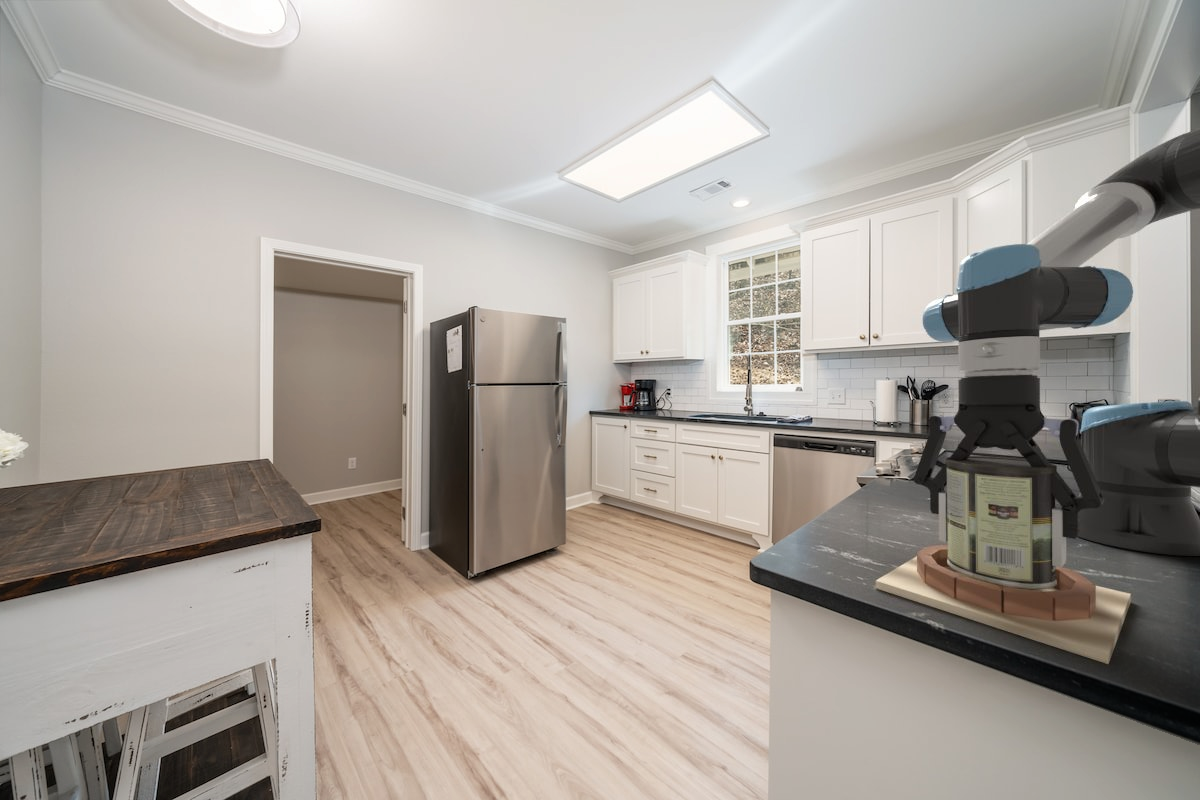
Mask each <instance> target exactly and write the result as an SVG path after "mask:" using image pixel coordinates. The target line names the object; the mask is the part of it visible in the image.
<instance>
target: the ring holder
mask: <svg viewBox="0 0 1200 800" xmlns="http://www.w3.org/2000/svg"><path fill="white" fill-rule="evenodd" d="M947 559H948V544H941V545H940V544H939V545H928V546H926V547H924V548H922V549H921V550H919V551H917V552H916V556H915V557H913V558H912V559H910V560H908V561H906V562H905V563H903V564H902V565H899V566H898V567H896V568H894V569H893V570H891V571H889V572H888V573H886V574H884V575H883V576H881V577H879V578H878V579H876V580H875V589H877V590H880V591H883V592H885V593H886V592H887V593H890V594H892V595H895V596H899V597H901V598H905V599H907V600H910V601H914V602H916V603H920V604H922V605H925V606H928V607H932V608H935V609H937V610H938V609H939V610H940V611H945V612H947V613H950V614H954V615H957V616H960V617H963V618H965V619H969V620H972V621H975V622H978V623H980V624H983V625H987V626H989V627H993V628H996V629H999V630H1002V631H1005V632H1008V633H1010V634H1015V635H1018V636H1021V637H1024V638H1026V639H1028V640H1029V639H1030V640H1033V641H1036V642H1038V643H1042V644H1045V645H1048V646H1051V647H1054V648H1058V649H1060V650H1064V651H1065V652H1069V653H1072V654H1075V655H1079V656H1080V657H1081V656H1082V657H1084V658H1088V659H1091V660H1094V661H1097V662H1101V663H1103V664H1106V665H1109V664H1110V661H1111V659H1112V655H1113V653H1114V649H1115V647H1116V645H1117V641H1118V639H1119V636H1120V633H1121V631H1122V628H1123V624H1124V622H1125V620H1126V616H1127V614H1128V611H1129V608H1130V605H1131V602H1132V600H1131V599H1132V596H1131V595H1132V593H1129V592H1125V591H1120V590H1115V589H1111V588H1108V587H1103V586H1099V585H1096V584H1095V583H1093V582H1092V581H1091V580H1089V579H1087V578H1086V577H1084V576H1082V575H1081V574H1080V573H1078V572H1077V571H1075V570H1072V569H1069V568H1067V567H1064V566H1063V567H1057V566H1056V580H1057V585H1056V586H1055V587H1053V588H1050V589H1034V590H1032V589H1019V588H1012V587H1006V586H1000V585H996V584H991V583H987V582H983V581H980V580H977V579H974V578H971V577H968V576H966V575H963V574H961V573H959V572H957V571H955V570H954V569H952V568H951V567H950V566H949V565H948V564H947Z"/></svg>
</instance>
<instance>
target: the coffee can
mask: <svg viewBox="0 0 1200 800" xmlns="http://www.w3.org/2000/svg"><path fill="white" fill-rule="evenodd" d="M950 457H951V456H948V457H946V458H945V459H944V461H945V462H944V464H945V463H946V465H947V485H946V486H947V487H946V490H947V533H948V541H947V545H948V559H947V564H948V565H949V566H950V567H951V568H952V569H954V570H955V571H957V572H959V573H961V574H963V575H966V576H968V577H971V578H974V579H977V580H980V581H983V582H987V583H991V584H996V585H1000V586H1006V587H1012V588H1019V589H1032V590H1034V589H1050V588H1053V587H1055V586H1056V585H1057V580H1056V566H1052V509H1053V508H1054V507H1055V506H1056V498H1055V497H1054V496H1053V495H1052V493H1051V490H1050V487H1051V485H1050V475H1051V474H1052V473H1056V471H1057V472H1058V470H1057V468H1058V467H1057V465H1056V464H1054V463H1051V466H1049V467H1031V465H1030V464H1029V463H1028V461H1027V460H1026V459H1025V458H1018V457H1007V456H991V455H987V456H986V455H970V456H969V457H968V459H965V460H962V461H957V460H953V459H949V458H950Z"/></svg>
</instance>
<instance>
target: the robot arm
mask: <svg viewBox="0 0 1200 800" xmlns="http://www.w3.org/2000/svg"><path fill="white" fill-rule="evenodd" d="M1198 209H1200V127H1198V128H1196V129H1193V130H1191V131H1189V132H1185V133H1183V134H1180V135H1178V136H1175V137H1173V138H1171V139H1169V140H1167V141H1164V142H1163V143H1161V144H1159V145H1157V146H1155V147H1153V148H1152V149H1150V150H1148V151H1146V152H1145V153H1143V154H1140V155H1139V156H1138V157H1136V158H1135V159H1134V160H1131V162H1129V163H1127V164H1126V165H1124V166H1123V167H1121V168H1120V169H1118V170H1117V171H1115V172H1114V173H1112V174H1111V175H1109V176H1108V177H1107V178H1105V179H1104V180H1102V181H1101V182H1100V183H1098V184H1097V185H1095V186H1094V187H1092V188H1091V189H1090V190H1088V191H1087V192H1086V193H1084V195H1082V196H1081V197H1080V198H1079V200H1078V201H1077V203H1075V207H1074V208H1073V210H1072V211H1070V212H1068V213H1067V214H1066V215H1065V216H1063V217H1062V218H1061V219H1059V220H1058V221H1056V222H1055V223H1054V224H1052V225H1051V226H1049V227H1048V228H1046V229H1045V230H1044V231H1043V232H1041V233H1040V234H1038V235H1037V236H1036V237H1034V238H1032V240H1030V241H1029V242H1028V243H1019V244H1018V243H1014V244H1007V245H1000V246H996V247H995V246H994V247H990V248H986V249H983V250H978V251H977V252H973V253H972V254H969V255H967V256H966V257H965V258H963V259H961V262H960V264H959V266H958V267H959V269H958V278H957V287H956V289H955V291H956V293H954V294H946V295H944V296H943V297H940V298H937V299H934V300H932V301H931V302H930V303H929V304H927V305H926V307H925V308H924V311H923V314H922V326H923V329H924V330H925V333H927V335H928V336H929V338H931V339H933V340H935V341H937V342H944V343H945V342H946V343H947V342H958V343H957V344H958V372H959V373H961V374H964V375H963V376H964V377H960V379H958V410H957V412H956V414H954V415H951V416H950V415H948V416H947V415H942V414H937V415H932V416H930V417H928V426H929V427H928V428H929V434H928V436H927V439H926V443H925V446H924V449H923V451H922V453H921V457H920V460H919V463H918V464H917V468H916V471H915V473H914V477H913V482H914V483H915V484H917V485H920V486H923V487H925V488H927V489H928V490H929V498H930V500H929V502H930V503H929V504H930V505H929V509H930V512H931V514H934V515H937V516H938V541H939V542H944V543H946V542H947V543H948V533H947V465H946V463H945V462H944V465H943V466H942V467H941V469H940V470H939V471H938V472H937V474H936V475H935V476H934V477H933V472H934V469H935V466H936V464H937V461H938V458H939V456H940V453H941V450H942V447H943V445H944V442H945V439H946V436H947V432H949V431H950V430H952V428H953V425H956V426H957V428H958V429H959V430H960V431H961V432H962V433H963V434H964V436H963V438H962V439H961V441H960V442H959V444H958V445H957V447H956V449H955V450H954V451H953V453H952V454H951V455H950V456H949V457H950V458H949V459H953V460H957V461H962V460H965V459H968V457H969V456H972V455H973V454H972V453H973V452H974V451H975V450H976V449H978V447H979V448H981V449H990V448H991V449H992V448H998V449H1000V450H1001V449H1002V450H1008V451H1013V450H1017V451H1018V452H1019V454H1020V455H1021V456H1022V457H1023V459H1026V460H1027V461H1028V463H1029V464H1030V465H1031V467H1049V466H1051V464H1052V463H1051V462H1050V461H1049V459H1048V458H1047V457H1046V455H1045V454H1044V453H1043V451H1042V449H1041V448H1040V446H1039V445H1038V444H1037V442H1036V441H1035V440H1034V437H1035V436H1036V435H1038V433H1040V432H1041V431H1042V430H1043V429H1044V428H1046V429H1048V430H1049V431H1050V434H1051V436H1053V437H1054V438H1058V439H1059V444H1060V447H1061V449H1062V452H1063V454H1064V456H1065V459H1066V461H1067V464H1068V466H1069V468H1070V471H1071V473H1072V476H1073V478H1074V480H1075V482H1076V484H1077V488H1078V491H1079V493H1078V496H1076V493H1074V491H1073V490H1072V489H1071V487H1069V485H1068V484H1067V483H1066V481H1065V480H1064V478H1063V477H1062V476H1061V474H1060V473H1059V472H1058V470H1057V471H1056V473H1052V474H1051V475H1050V485H1051V487H1050V490H1051V493H1052V495H1053V496H1054V497H1055V501H1057V502H1058V504H1059V505H1055V507H1054V508H1053V509H1052V566H1057V567H1064V565H1065V564H1066V563H1067V538H1068V539H1072V540H1073V539H1074V540H1076V538H1077V537H1078V538H1081V539H1085V540H1088V541H1091V542H1095V543H1099V544H1102V545H1107V546H1111V547H1117V548H1121V549H1127V550H1133V551H1137V552H1143V553H1150V554H1159V555H1170V556H1171V555H1172V556H1181V557H1183V556H1185V557H1187V556H1189V557H1199V556H1200V517H1199V515H1198V513H1197V511H1196V509H1195V506H1194V505H1193V501H1192V488H1199V489H1200V397H1198V403H1197V410H1195V407H1194V406H1193V405H1192V404H1191V402H1189V401H1186V400H1185V401H1184V400H1176V401H1175V400H1173V401H1153V402H1137V403H1122V404H1121V403H1120V404H1110V405H1101V406H1093V407H1090V408H1088V409H1086V410H1085V411H1084V412H1083V413H1082V418H1081V423H1080V421H1079V420H1078V419H1076V418H1067V419H1060V418H1048V417H1047V418H1046V417H1045V415H1044V414H1043V413H1042V410H1041V389H1040V388H1041V377H1038V375H1036V374H1035V375H1034V371H1038V370H1039V369H1040V368H1041V337H1040V331H1044V330H1045V331H1046V330H1047V331H1048V330H1055V329H1063V328H1065V329H1066V328H1071V329H1073V330H1074V329H1075V330H1076V329H1082V328H1083V329H1085V328H1092V327H1099V326H1103V325H1107V324H1109V323H1111V322H1113V321H1114V320H1117V319H1118V318H1119V317H1121V316H1122V314H1124V313H1125V312H1126V310H1128V308H1129V307H1130V305H1131V303H1132V300H1133V296H1134V287H1133V285H1132V283H1131V282H1132V281H1131V280H1130V279H1129V277H1127V275H1126V274H1124V273H1122V272H1120V271H1118V270H1115V269H1113V268H1104V267H1096V266H1092V265H1091V266H1090V265H1085V266H1082V265H1083V264H1085V263H1086V262H1087V261H1089V260H1090V259H1091V258H1093V257H1094V256H1095V255H1097V254H1098V253H1100V252H1101V251H1103V250H1104V249H1105V248H1107V246H1109V245H1111V244H1112V243H1113V242H1114V241H1116V240H1118V239H1123V238H1127V237H1130V236H1132V235H1135V234H1136V233H1139V232H1140V231H1142V230H1143V229H1144V228H1146V227H1147V226H1148V225H1150V224H1153V223H1155V222H1159V221H1161V220H1164V219H1167V218H1170V217H1173V216H1176V215H1180V214H1184V213H1185V214H1186V213H1188V212H1190V211H1191V212H1192V211H1195V210H1198ZM1080 266H1081V267H1080ZM1080 425H1081V426H1080ZM1079 435H1080V439H1079Z"/></svg>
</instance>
